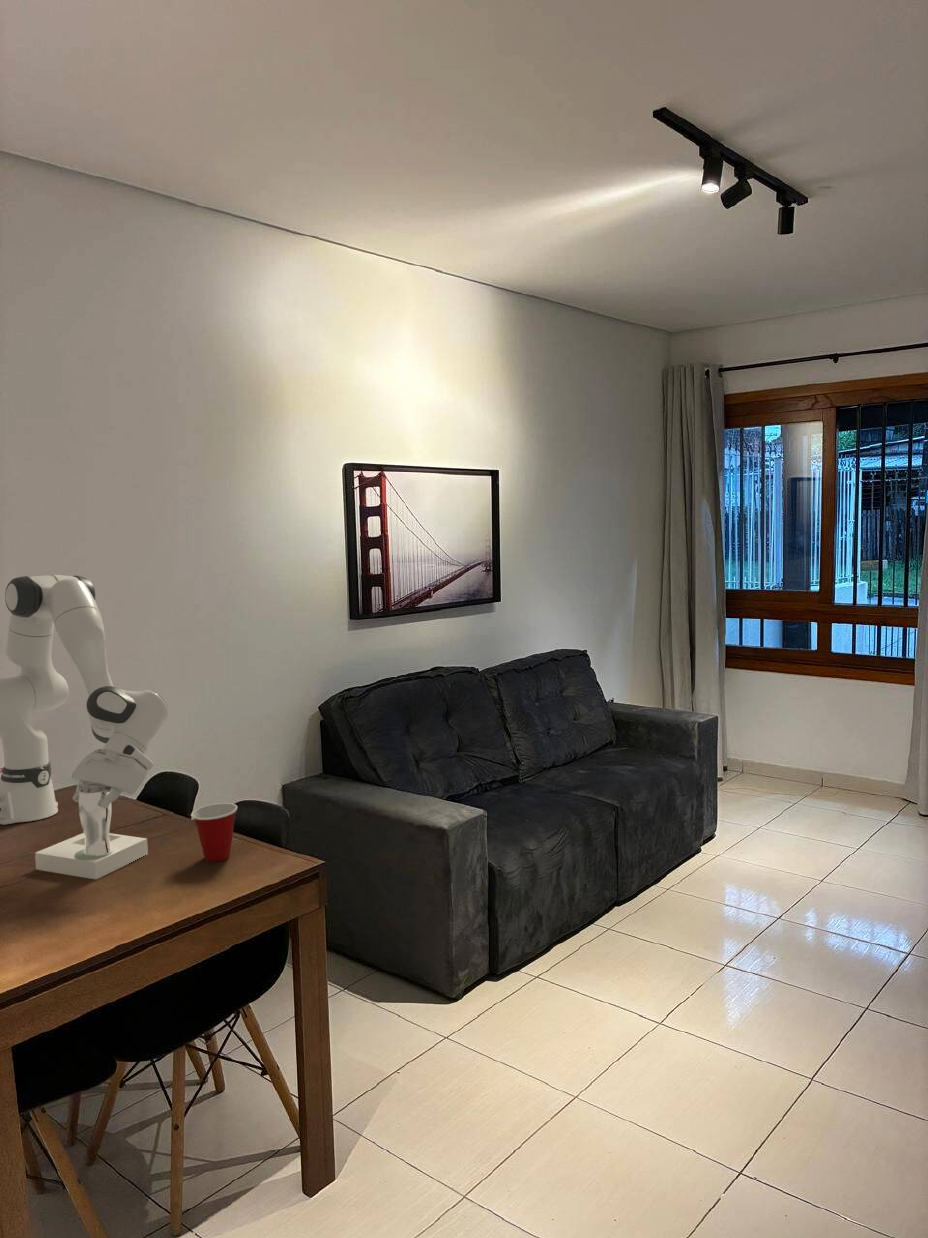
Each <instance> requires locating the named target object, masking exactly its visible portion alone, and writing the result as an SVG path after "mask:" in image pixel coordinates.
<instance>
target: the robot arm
mask: <svg viewBox="0 0 928 1238" xmlns="http://www.w3.org/2000/svg"><path fill="white" fill-rule="evenodd" d="M4 596H5V597H4V600H5V605H6V608H7V609H8V611H9V612H10V613H11V614H10V618H9V619H10V620H9V625H8V632H7V638H6V641H7V642H6V648H5V652H6V653H5V654H6V655H7V658H8V659H9V660H10V661H11V662H12V663H13V664H15V665H17V666H19V667H20V668H21V670H20V671H21V672H20V674H19V675H17V676H12V677H6V678H0V739H1V743H2V751H3V758H4V759H3V763H4V766H3V767H1V768H0V773H1V774H0V825H9V824H16V823H25V822H32V821H39V820H42V819H46V818H49V817H51V816H54V815H55V814H57V813H58V812H59V808H58V806H59V804H58V803H59V802H58V801H57V800H56V797H55V796H56V795H55V790H54V786H53V785H54V784H53V780H52V778H51V775H52V766H51V761H49V759H50V757H49V743H48V736H47V734H45V732H44V731H42V730H41V729H39V728H36V727H33V726H32V725H31V724H30V720H29V715H34V714H35V715H36V714H39V713H44V712H48V711H49V712H50V711H52V710H54V709H56V708H58V707H61V706H63V705H64V704H65V703H66V702H67V700H68V697H69V693H70V690H69V684H68V682H67V681H66V679H65V677H64V676H63V675H61V674H60V673H59V672H58V671H57V670H56V668H55V667H54V664H53V660H52V659H53V658H52V651H53V650H52V649H53V641H54V640H53V639H54V633H55V632H54V631H55V630H56V633H57V635H58V637H59V640H60V642H61V644H62V645H63V646H64V648H65V650H66V651H67V653H68V656H69V657H70V658H71V660H72V661H73V663H74V664H75V667H76V668H77V670H78V672H79V673H80V675H81V677H82V680H83V682H84V685H85V689H86V691H87V695H88V698H87V701H86V705H85V706H86V710H87V715H88V719H89V723H90V725H91V726H90V727H91V732H92V734H93V736H94V738H95V739H96V740H97V741H99V742H100V743H104V746H103V748H102V749H101V748H97V749H96V750H94V751H91V752H90V753H88V754H87V755H86V756H85V757H84V758H83V759H82V760H81V761H80V763H79V764H78V765H77V766H76V767H75V768H74V770H73V772H72V773H71V778H72V779H73V780H74V782H76V783H77V784H76V787H75V788H76V789H75V793H74V794H73V796H72V798H71V799H72V800H73V801H74V802H75V803H79V790H80V789H82V788H85V787H89V786H96V785H104V786H108V787H109V788H110V790H109V792H110V793H109V794H108V795H107V796H106V797H105V798H101V800H100V802H99V803H98V806H100V807H101V808H104V809H107V807H108V806H109V804H110V803H111V804H112V802H114V801H116V800H117V799H118V798H119V797H120V795H121V794H122V795H125V796H132V795H133V794H135V793H136V792H137V791H138V790H139V789H140V787H141V785H142V784H143V783H144V781H145V779H146V777H147V775H148V771H150V770H152V769H153V767H154V766H155V763H154V762H153V761H152V760H151V759H150V758H149V757H148V756H147V755H146V753H147V751H148V750H149V745H150V744H151V742H152V741H153V740H155V739H156V737H157V736H158V734H159V733H160V731H161V730H162V728H163V726H164V725H165V723H166V721H167V719H168V717H169V713H170V710H169V705H168V704H167V701H166V700H165V699H164V698H163V697H162V696H161V695H159V694H158V693H157V692H155V691H153V690H149V689H146V690H142V691H141V690H140V691H135V690H125V689H122V688H118V687H116V686H114V683H113V681H112V677H111V675H110V671H109V666H108V661H107V659H108V658H107V646H106V645H107V644H106V642H107V641H106V632H105V626H104V622H103V618H102V615H101V612H100V609H99V606H98V604H97V602H96V590H95V586H94V584H93V583H92V582H91V580H90V579H89V578H87V577H84V576H79V575H73V576H72V575H65V574H63V575H62V574H48V575H32V576H29V575H28V576H27V575H24V576H18V577H15V578H12V579H11V580H10V581H9V583H8V584H7V585H6V587H5V593H4ZM104 790H107V789H104Z"/></svg>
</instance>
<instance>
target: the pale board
mask: <svg viewBox="0 0 928 1238" xmlns="http://www.w3.org/2000/svg"><path fill="white" fill-rule="evenodd" d="M109 839H110V844H111V848H112V851H111V852H110V853H109V854H106V855H103V856H98V857H87V856H85V855H84V847H85V837H84V832H82V833H80V834H76V835H75V836H73V837H70V838H67V839H65V840H63V841H60V842H58V843H56V844H52V845H50V846H49V847H45V848H43V849H40V850H38V851H36V852H35V853H34V855H35V856H34V859H35V860H34V861H35V870H39V871H43V872H48V873H54V874H60V875H66V876H73V877H80V878H85V879H90V880H98V879H100V878H103V877H105V876H107V875H109V874H110V873H113V872H115V871H117V870H119V869H121V868H123V867H125V866H128V865H129V863H130V864H131V862H132V863H133V861H134V862H136V861H138V860H140V859H142V858H144V857H146V856H148V855H149V849H148V848H149V847H148V846H149V845H148V843H149V842H148V838H145V837H140V836H139V837H138V836H131V835H125V834H120V833H119V834H118V833H111V832H109ZM145 855H146V856H145ZM143 856H144V857H143ZM141 857H142V858H141ZM139 858H140V859H139ZM137 859H138V860H137ZM135 860H136V861H135Z"/></svg>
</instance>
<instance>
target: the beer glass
mask: <svg viewBox="0 0 928 1238" xmlns="http://www.w3.org/2000/svg"><path fill="white" fill-rule="evenodd" d="M104 789H107V790H104ZM109 790H110V788H109V787H108V786H104V785H96V786H89V787H85V788H82V789H80V790H79V802H78V811H79V812H78V814H79V819H80V824H81V828H82V831H83V832H82V833H84V837H85V847H84V855H85V856H87V857H98V856H103V855H106V854H109V853H110V852H111V851H112V848H111V844H110V839H109V833H110V828H111V821H112V820H111V819H112V807H113V806H112V802H111V803H110V804H109V806H108V807H107V809H104V808H101V807H100V806H98V803H99V802H100V800H101V798H105V797H106V796H107V795H108V794H109V793H110V792H109Z"/></svg>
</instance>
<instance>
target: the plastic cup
mask: <svg viewBox="0 0 928 1238" xmlns="http://www.w3.org/2000/svg"><path fill="white" fill-rule="evenodd" d="M237 810H238V805H237V804H235V803H229V802H222V803H221V802H220V803H212V804H209V805H204V806H201V807H199V808H195V810H193V811H192V812H191V814H190V817H191V818H193V820H194V823H195V826H196V829H197V832H198V837H199V842H200V845H201V849H202V853H203V856H204V859H205V860H206V861H207V862H214V861H215V862H221V861H225V860H228V859H229V858H228V857H230V855H231V849H232V848H231V846H232V842H233V834H234V827H235V825H234V824H235V821H236V819H235V818H236V812H237ZM215 862H214V863H215Z"/></svg>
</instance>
